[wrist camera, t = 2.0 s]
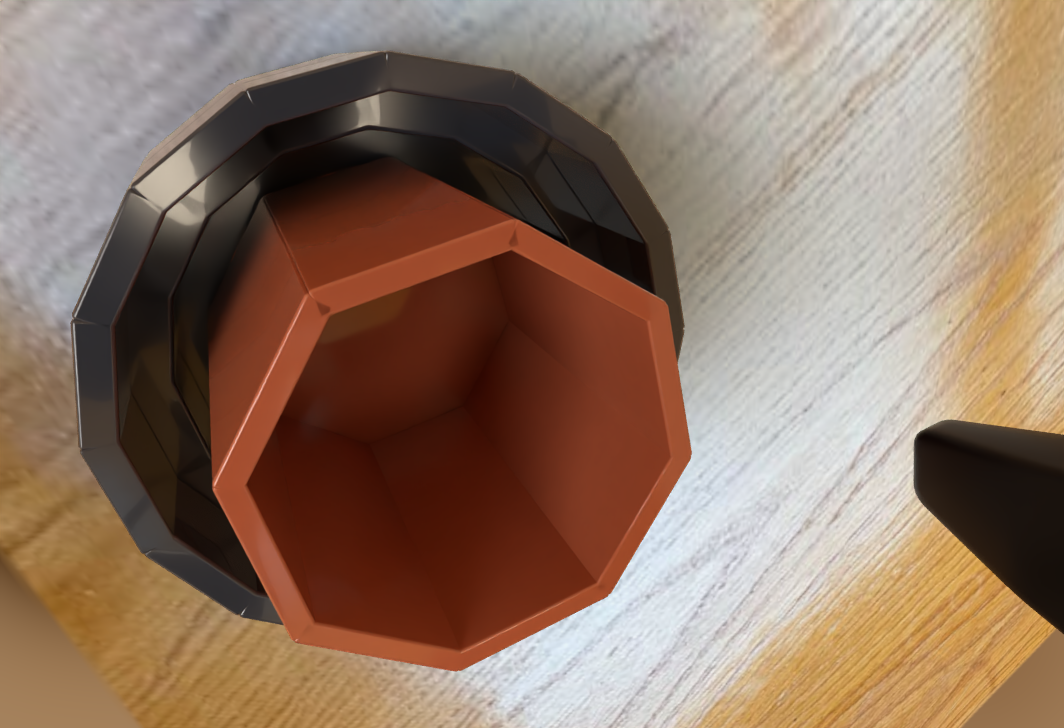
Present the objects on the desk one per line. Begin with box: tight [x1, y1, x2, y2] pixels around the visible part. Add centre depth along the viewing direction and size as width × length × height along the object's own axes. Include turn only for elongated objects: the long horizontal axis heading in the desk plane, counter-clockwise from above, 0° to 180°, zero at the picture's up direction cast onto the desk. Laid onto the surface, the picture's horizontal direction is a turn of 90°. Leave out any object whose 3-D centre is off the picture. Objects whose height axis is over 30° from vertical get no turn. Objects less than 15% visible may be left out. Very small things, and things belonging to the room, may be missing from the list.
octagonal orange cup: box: [207, 156, 692, 672], centre depth 14 cm, size 7×7×8 cm
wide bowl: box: [71, 51, 684, 625], centre depth 16 cm, size 11×11×5 cm
